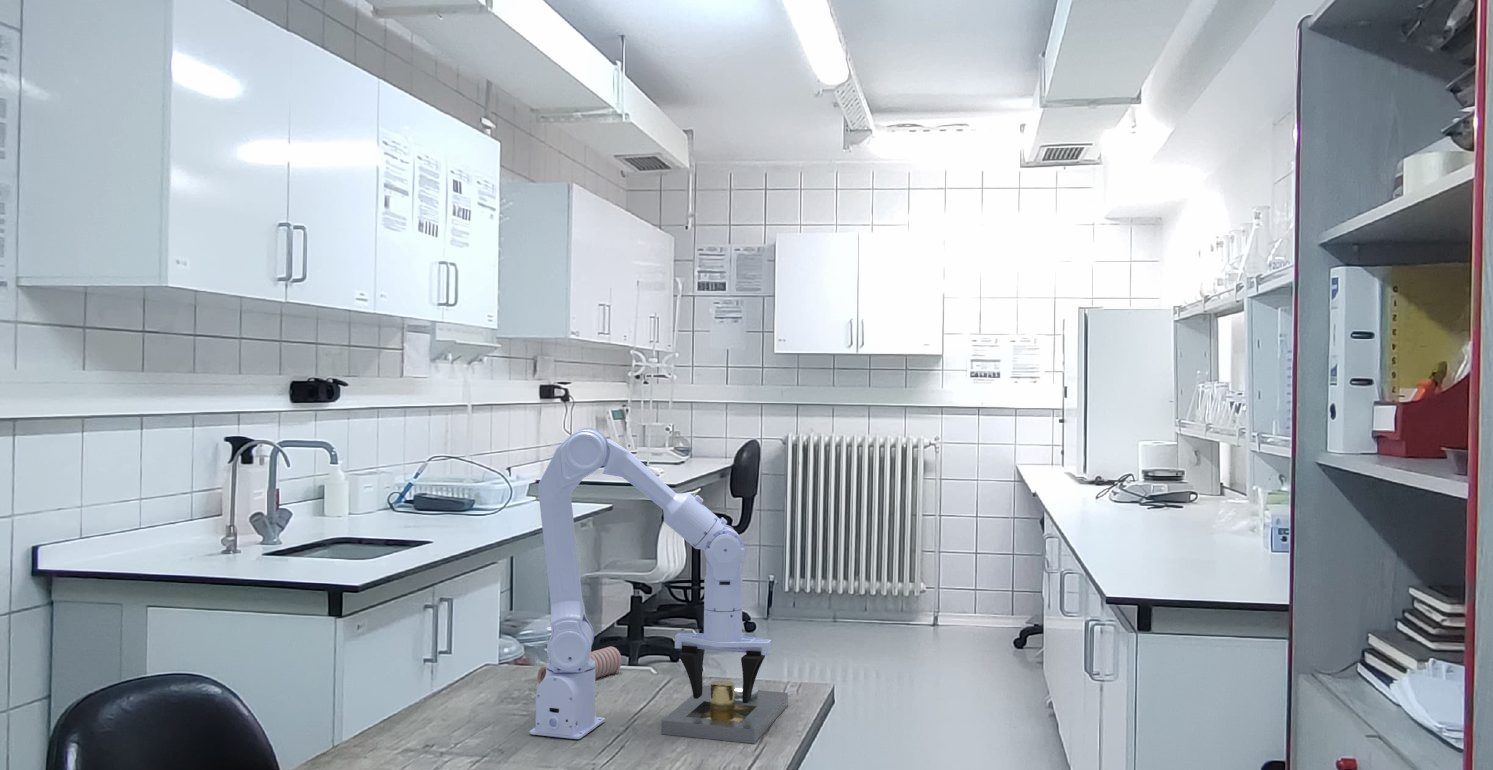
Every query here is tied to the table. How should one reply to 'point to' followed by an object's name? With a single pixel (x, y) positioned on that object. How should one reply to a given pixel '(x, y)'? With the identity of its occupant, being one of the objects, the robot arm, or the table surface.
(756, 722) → the carrier plate
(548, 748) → the table surface
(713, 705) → the gold flanged round piece
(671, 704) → the table surface
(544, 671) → the coil
